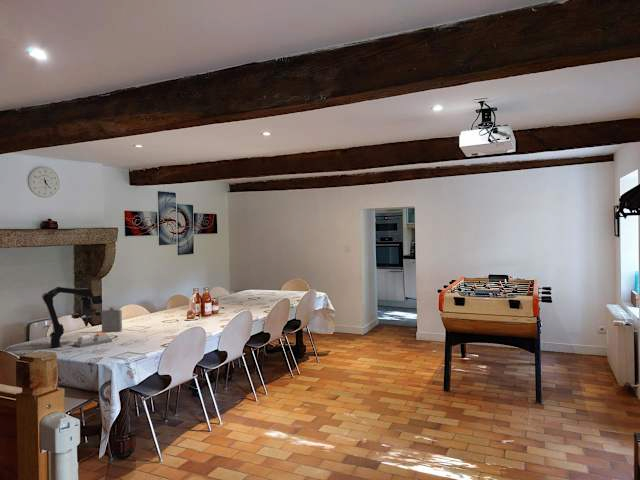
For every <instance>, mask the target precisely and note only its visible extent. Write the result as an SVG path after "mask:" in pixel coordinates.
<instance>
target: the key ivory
mask: <svg viewBox="0 0 640 480" xmlns="http://www.w3.org/2000/svg"><path fill="white" fill-rule="evenodd" d="M90 337H91V335H88V334H86V335H80V337H79V338H81V339H87V338H90Z"/></svg>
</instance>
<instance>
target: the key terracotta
mask: <svg viewBox="0 0 640 480" xmlns="http://www.w3.org/2000/svg"><path fill="white" fill-rule="evenodd" d="M106 334H107V332H97V333H96V334H95V335H96V336H104V335H106Z"/></svg>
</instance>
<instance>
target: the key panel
mask: <svg viewBox="0 0 640 480" xmlns="http://www.w3.org/2000/svg"><path fill="white" fill-rule="evenodd" d="M112 342H113V339H112V338H110V337H109V334H107V333H106V335H104V336H96V334H94V335H93V337H92V336H90V338H87V339H81V338H80V337H78V338H77V341H74V342H73V344H74V346H75V347H78V348H85V347H92V346H96V345H102V344H103V345H104V344H107V343H112Z"/></svg>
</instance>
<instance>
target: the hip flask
mask: <svg viewBox="0 0 640 480" xmlns="http://www.w3.org/2000/svg"><path fill="white" fill-rule="evenodd" d="M122 314H123V311H122V309H115V307H114V306H112V307H111V306H110V307H109V309H106V310H105V309H104V310H101V333H114V332H115V333H120V332H123V317H122V316H123V315H122Z"/></svg>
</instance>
